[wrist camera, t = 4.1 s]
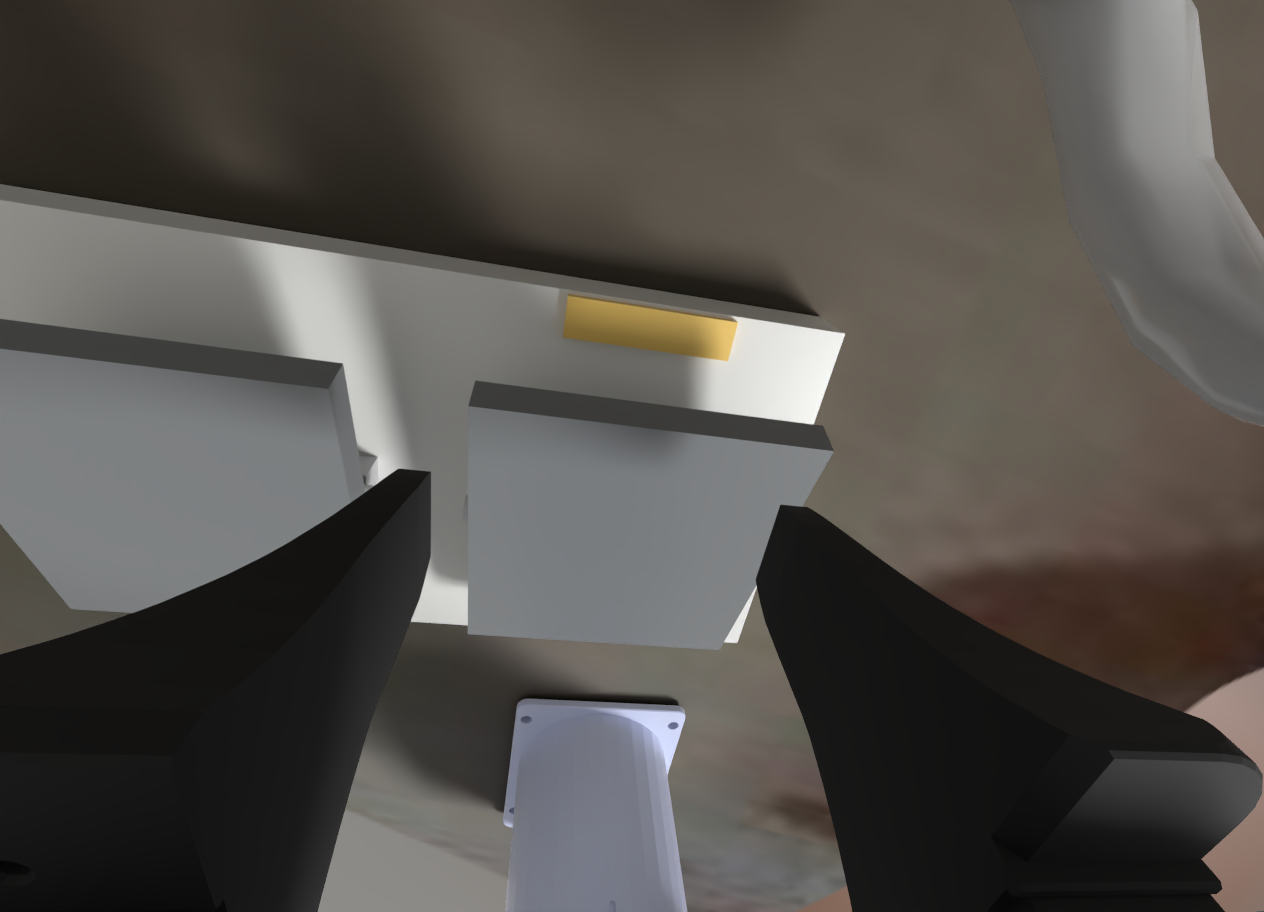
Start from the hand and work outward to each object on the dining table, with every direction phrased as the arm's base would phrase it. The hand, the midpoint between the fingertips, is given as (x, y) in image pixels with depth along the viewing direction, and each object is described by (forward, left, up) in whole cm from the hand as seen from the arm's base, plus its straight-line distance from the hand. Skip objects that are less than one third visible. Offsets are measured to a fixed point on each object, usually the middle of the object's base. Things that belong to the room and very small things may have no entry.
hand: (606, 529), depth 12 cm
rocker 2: (-3, -1, -5) cm, 6 cm away
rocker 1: (-3, +11, -5) cm, 12 cm away
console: (-3, +5, -9) cm, 11 cm away
